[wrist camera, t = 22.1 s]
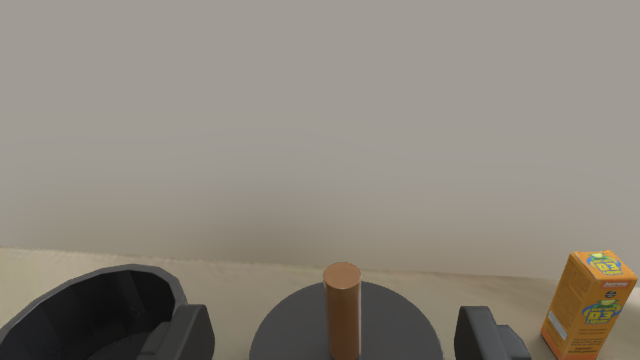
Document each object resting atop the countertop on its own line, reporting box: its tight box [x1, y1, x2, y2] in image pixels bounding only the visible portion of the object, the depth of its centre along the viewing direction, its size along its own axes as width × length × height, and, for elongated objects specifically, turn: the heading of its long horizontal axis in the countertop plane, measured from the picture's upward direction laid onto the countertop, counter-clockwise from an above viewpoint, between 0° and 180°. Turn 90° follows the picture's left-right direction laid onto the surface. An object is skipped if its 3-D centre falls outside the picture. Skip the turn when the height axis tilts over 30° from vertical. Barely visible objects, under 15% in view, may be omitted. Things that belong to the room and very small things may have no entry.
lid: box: [249, 262, 444, 360], centre depth 27 cm, size 15×15×9 cm
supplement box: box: [541, 250, 638, 360], centre depth 31 cm, size 3×3×10 cm
